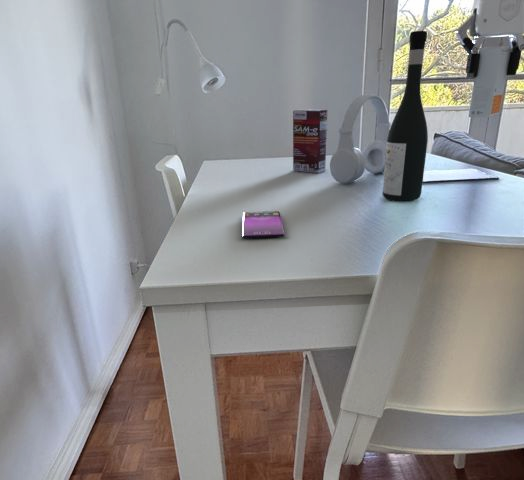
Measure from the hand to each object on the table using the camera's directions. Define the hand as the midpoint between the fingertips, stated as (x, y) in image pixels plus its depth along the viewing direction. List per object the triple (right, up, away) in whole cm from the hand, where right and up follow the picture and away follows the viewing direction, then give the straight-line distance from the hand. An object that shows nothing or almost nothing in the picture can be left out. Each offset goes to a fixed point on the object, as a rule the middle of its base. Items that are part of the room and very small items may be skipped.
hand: (490, 75), depth 92 cm
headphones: (-19, -9, +31) cm, 38 cm away
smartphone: (-45, -32, -7) cm, 55 cm away
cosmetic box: (0, -6, +4) cm, 7 cm away
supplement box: (-31, -2, +44) cm, 54 cm away
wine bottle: (-15, -22, +9) cm, 28 cm away
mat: (+2, -9, +28) cm, 30 cm away
